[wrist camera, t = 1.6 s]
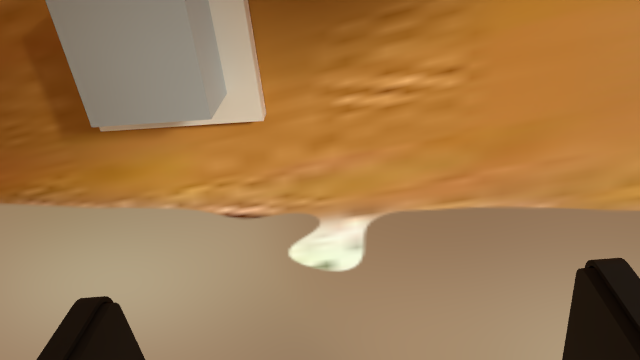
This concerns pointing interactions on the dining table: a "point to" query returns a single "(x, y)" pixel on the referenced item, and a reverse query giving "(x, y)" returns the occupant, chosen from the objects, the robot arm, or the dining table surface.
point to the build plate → (161, 61)
